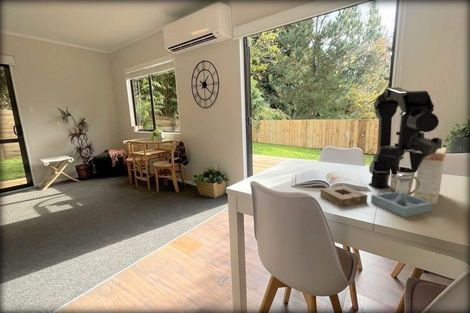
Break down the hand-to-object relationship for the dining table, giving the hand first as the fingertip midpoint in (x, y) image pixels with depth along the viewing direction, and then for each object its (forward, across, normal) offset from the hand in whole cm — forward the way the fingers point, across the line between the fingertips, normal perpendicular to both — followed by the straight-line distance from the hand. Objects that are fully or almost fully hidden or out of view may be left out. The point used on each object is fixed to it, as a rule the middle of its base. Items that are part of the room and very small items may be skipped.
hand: (404, 173), depth 80 cm
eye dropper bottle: (+13, +32, +29) cm, 45 cm away
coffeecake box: (+13, +18, +3) cm, 22 cm away
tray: (+13, 0, 0) cm, 13 cm away
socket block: (+13, -14, +13) cm, 23 cm away
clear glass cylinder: (+12, 0, 0) cm, 12 cm away
